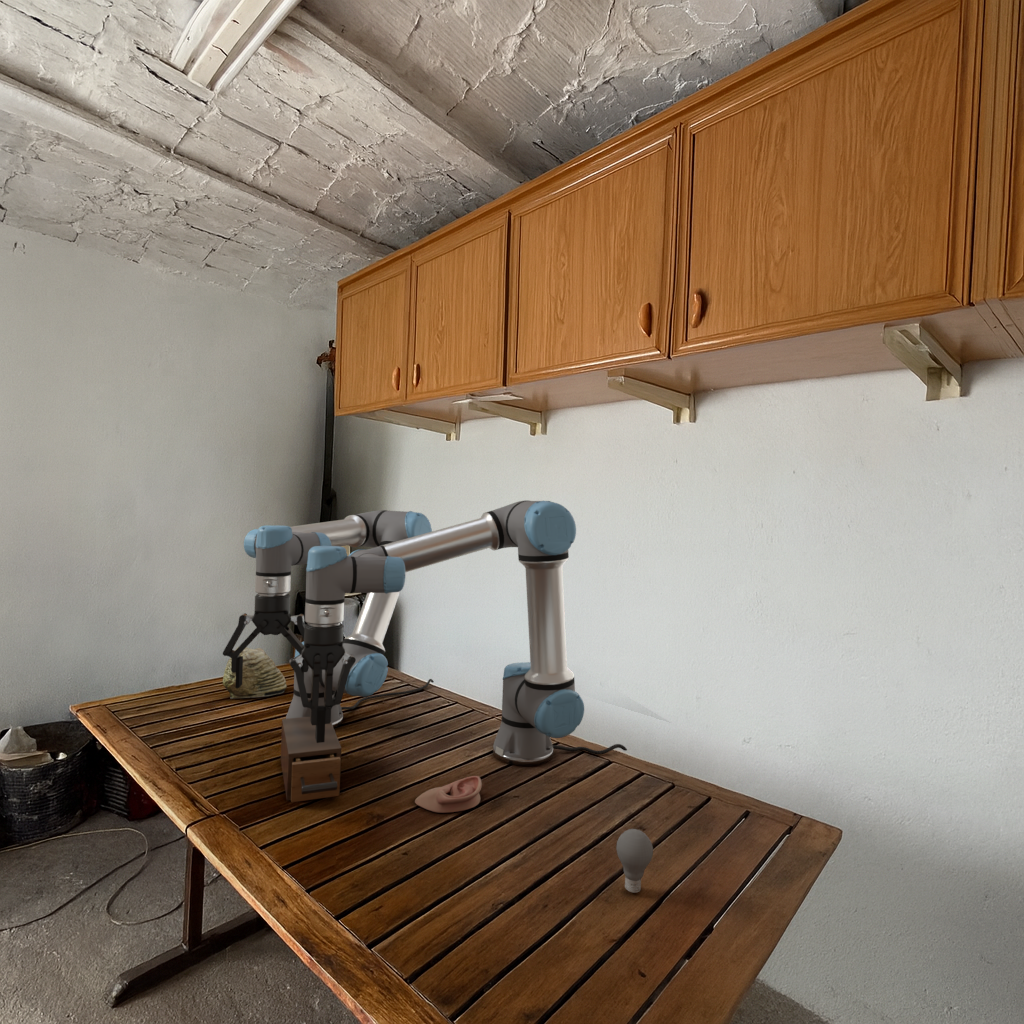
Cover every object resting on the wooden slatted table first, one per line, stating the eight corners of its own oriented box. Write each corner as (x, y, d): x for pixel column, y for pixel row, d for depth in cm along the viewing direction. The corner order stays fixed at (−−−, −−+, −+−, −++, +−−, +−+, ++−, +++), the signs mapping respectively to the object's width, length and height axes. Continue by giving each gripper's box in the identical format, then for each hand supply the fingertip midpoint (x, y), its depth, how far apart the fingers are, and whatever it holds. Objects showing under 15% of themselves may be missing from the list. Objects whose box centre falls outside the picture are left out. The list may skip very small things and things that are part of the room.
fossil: (218, 695, 195) (220, 647, 195) (278, 685, 208) (279, 640, 207) (228, 703, 189) (230, 653, 188) (289, 692, 201) (290, 645, 201)
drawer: (343, 809, 127) (345, 770, 127) (293, 816, 123) (295, 777, 123) (326, 757, 151) (328, 725, 151) (284, 762, 147) (285, 729, 147)
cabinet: (339, 793, 136) (341, 747, 135) (286, 800, 131) (288, 753, 131) (327, 754, 155) (328, 714, 155) (280, 759, 151) (282, 719, 151)
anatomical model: (409, 789, 130) (428, 766, 141) (409, 808, 130) (427, 784, 141) (472, 798, 127) (486, 774, 138) (471, 818, 127) (485, 792, 138)
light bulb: (610, 879, 108) (613, 822, 108) (644, 879, 109) (647, 822, 109) (619, 902, 102) (622, 840, 102) (655, 901, 103) (658, 840, 103)
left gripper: (209, 595, 138) (206, 691, 139) (327, 597, 142) (324, 690, 143) (220, 590, 146) (217, 681, 146) (331, 591, 149) (328, 680, 150)
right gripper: (291, 628, 121) (286, 750, 121) (360, 625, 126) (355, 743, 126) (288, 620, 128) (284, 736, 128) (354, 618, 133) (349, 730, 133)
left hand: (270, 686), depth 145 cm, fingers open, 13 cm apart
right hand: (319, 739), depth 127 cm, fingers closed
